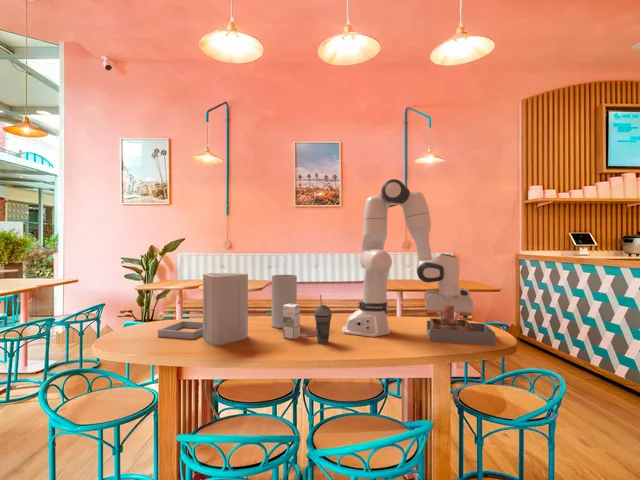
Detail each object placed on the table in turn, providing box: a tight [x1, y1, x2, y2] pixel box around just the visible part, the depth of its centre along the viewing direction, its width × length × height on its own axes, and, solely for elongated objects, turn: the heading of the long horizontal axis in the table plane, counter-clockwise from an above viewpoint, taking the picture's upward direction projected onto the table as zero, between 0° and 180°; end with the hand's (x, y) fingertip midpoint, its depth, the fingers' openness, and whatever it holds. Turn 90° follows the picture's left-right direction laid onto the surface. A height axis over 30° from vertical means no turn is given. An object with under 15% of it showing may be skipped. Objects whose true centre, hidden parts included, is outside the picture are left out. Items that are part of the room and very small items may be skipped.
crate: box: [429, 317, 473, 331], centre depth 154 cm, size 16×14×5 cm
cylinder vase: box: [271, 274, 298, 329], centre depth 173 cm, size 12×12×25 cm
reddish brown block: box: [442, 306, 455, 325], centre depth 154 cm, size 4×4×12 cm
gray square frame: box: [157, 320, 203, 340], centre depth 159 cm, size 18×18×3 cm
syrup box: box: [282, 303, 301, 340], centre depth 152 cm, size 6×6×14 cm
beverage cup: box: [314, 294, 333, 345], centre depth 145 cm, size 7×7×20 cm
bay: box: [426, 320, 496, 346], centre depth 153 cm, size 26×17×5 cm
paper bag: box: [202, 272, 249, 346], centre depth 148 cm, size 19×15×28 cm
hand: (448, 321), depth 154 cm, fingers closed on reddish brown block, 4 cm apart
